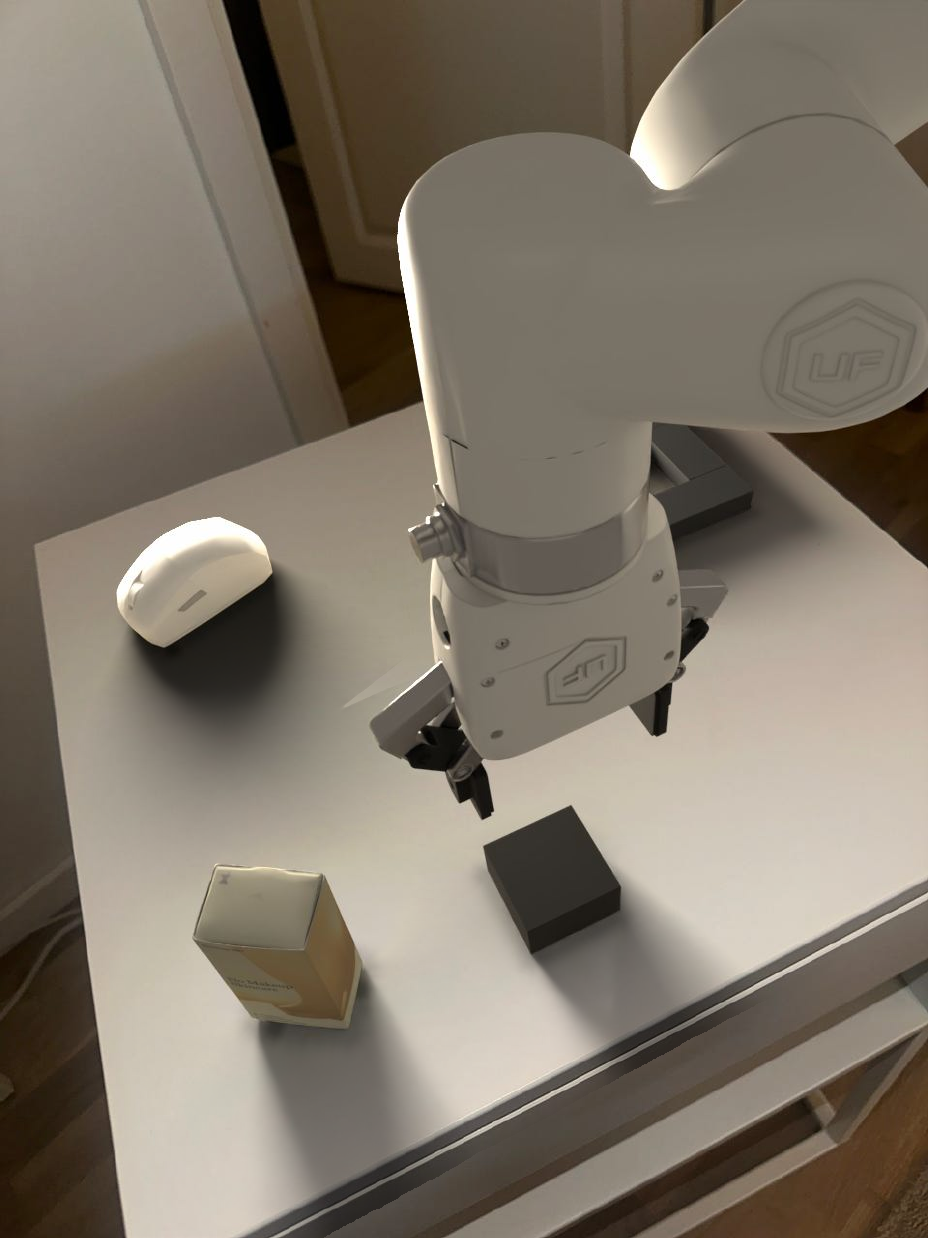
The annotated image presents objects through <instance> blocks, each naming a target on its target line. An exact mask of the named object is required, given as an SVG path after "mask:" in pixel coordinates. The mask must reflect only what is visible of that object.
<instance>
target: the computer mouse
mask: <svg viewBox="0 0 928 1238" xmlns="http://www.w3.org/2000/svg"><path fill="white" fill-rule="evenodd" d="M272 574H273V568H272V564H271V561H270V558H269V553H268V551H267V547H266V545H265V543H264V542H263V541H262V539H261V538H260V537H259V536H258V535H257V534H256V533H254V532H253V531H252V530H249V529H247V528H245V527H243V526H241V525H238V524H236V523H233V522H232V521H229V520H226V519H224V518H222V517H211V518H207V519H201V520H196V521H195V520H194V521H190V522H189V521H188V522H187V523H185V524H183V525H181V526H179V527H176V528H175V529H172V530H170V531H169V532H168V531H167V532H166V533H165V534H163V535H162V536H160V537H159V538H157V539H156V540H155V541H153V543H152V544H150V545H149V546H148V547H147V548H146V549H145V550H144V551H143V552H142V553H141V554H140V555H139V556H138V558H137V559H136V560H135V562H134V563H133V564H132V565H131V567H130V568H129V569H128V571H127V572H126V574H125V575H124V577H123V579H122V580H121V582H120V583H119V585H118V588H117V590H116V598H117V608H118V611H119V613H120V614H121V616H122V617H123V619H124V621H125V622H126V623H127V624H128V625H129V627H130V628H132V629H133V630H134V632H136V633H137V634H138V635H140V636H141V637H142V639H144V640H146V641H147V642H149V643H150V644H152V645H155V646H158V647H161V648H166V647H168V646H170V645H172V644H174V643H175V642H176V641H178V640H180V639H182V638H183V637H185V636H186V635H187V634H189V633H191V632H192V631H194V630H195V629H197V628H198V627H200V626H202V625H203V624H205V623H206V622H207V621H210V619H212V618H214V617H215V616H217V615H218V614H219V613H221V612H223V611H224V610H226V609H227V608H229V607H230V606H231V605H233V604H234V603H236V602H237V601H239V600H240V599H242V598H243V597H245V596H246V595H248V594H249V593H251V592H252V591H253V590H255V589H256V588H258V587H259V586H261V585H262V584H264V583H265V582H266V581H267V579H268V578H269V577H271V575H272Z"/></svg>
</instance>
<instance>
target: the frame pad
mask: <svg viewBox="0 0 928 1238" xmlns="http://www.w3.org/2000/svg"><path fill="white" fill-rule="evenodd" d="M650 461H652V462H653V463H654V464H655V465H656V466H657V467H658V468H659V469H660V470H661V472H663V474H665V476H666V477H667V478H668V479H669V480H670V481H671V482H672V483H673V484H674V485H675V486H673V487H670V488H668V489H665V490H663V491H660V492H658V493H655V494H652V495H653V496H654V497H655V498H656V499H657V500H658V501H659V502H660V503H661V505H662V506H663V508H664V510H665V513H666V516H667V520H668V523H669V527H670V532H671V536H672V541H676V540H678V539H681V538H683V537H685V536H688V535H690V534H693V533H695V532H698V531H700V530H702V529H704V528H707V527H709V526H712V525H715V524H717V523H719V522H721V521H724V520H727V519H729V518H731V517H733V516H736V515H738V514H740V513H743V512H745V511H748V510H751V508H752V504H753V498H754V493H755V492H754V489H753V488H752V487H751V486H749V484H747V483H746V481H744V480H743V478H741V476H739V474H737V473H736V472H735V471H734V469H732V468H731V467H730V466H729V465H728V464H727V463H726V462H725V461H724V460H723V459H722V458H721V457H720V456H719V455H718V454H717V453H716V452H715V451H714V450H713V449H712V448H711V447H710V446H709V445H707V443H706V442H705V441H704V440H702V438H701V437H699V436H698V435H697V434H696V432H695V431H693V430H692V429H691V428H690V427H689V425H680V424H670V423H659V422H652V438H651V459H650Z"/></svg>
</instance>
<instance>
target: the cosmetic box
mask: <svg viewBox="0 0 928 1238" xmlns="http://www.w3.org/2000/svg"><path fill="white" fill-rule="evenodd" d="M191 938H192V940H193V942H194V943H195V944H196V945H197V946H198V948H199V950H200V951H201V952H202V953H203V954H204V956H205V957H206V958H207V960H208V961H209V963H210V964H211V965H212V966H213V968H214V970H216V972H217V974H218V975H219V976H220V977H221V978H222V980H223V981H224V983H225V984H226V985H227V987H228V988H229V989H230V990H231V991H232V993H233V994H234V996H235V997H236V998H237V1000H238V1002H240V1004H241V1005H242V1007H243V1008H244V1009H245V1010H246V1012H247V1013H248V1015H249V1016H250V1017H251V1018H252V1019H256V1020H262V1021H266V1022H267V1021H268V1022H274V1023H281V1024H287V1025H296V1026H307V1027H317V1028H328V1029H341V1030H347V1029H348V1028H349V1027H350V1022H351V1019H352V1018H351V1017H352V1014H353V1009H354V1005H355V1002H356V997H357V993H358V988H359V984H360V978H361V973H362V968H363V960H362V957H361V955H360V952H359V951H358V948H357V946H356V944H355V941H354V940H353V937H352V935H351V932H350V930H349V927H348V926H347V923H346V920H345V919H344V917H343V914H342V912H341V909H340V907H339V905H338V903H337V900H336V897H335V896H334V894H333V892H332V888H331V887H330V884H329V882H328V879H327V877H326V875H325V874H324V873H323V872H316V871H307V870H298V869H297V870H295V869H286V868H285V869H284V868H275V867H266V866H265V867H264V866H251V865H249V866H248V865H237V864H224V863H216V864H214V867H213V870H212V872H211V876H210V879H209V880H208V885H207V887H206V890H205V893H204V896H203V899H202V902H201V905H200V909H199V911H198V914H197V918H196V921H195V926H194V929H193V932H192V937H191Z"/></svg>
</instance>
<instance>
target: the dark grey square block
mask: <svg viewBox="0 0 928 1238" xmlns="http://www.w3.org/2000/svg"><path fill="white" fill-rule="evenodd" d="M482 849H483V853H484V857H485V863H486V867H487V872H488V874H489V875H490V877H491V880H492V881H493V883H494V885H495V887H496V889H497V892H498V893H499V895H500V897H501V899H502V901H503V903H504V905H505V907H506V909H507V911H508V913H509V914H510V917H511V919H512V920H513V922H514V925H515V927H516V928H517V931H518V932H519V935H520V936H521V938H522V940H523V943H524V944H525V946H526V948H527V950H528V952H529V954H530V955H533V954H536V953H537V952H540V951H541V950H543V949H545V948H547V947H550V946H552V945H554V944H556V943H558V942H560V941H562V940H564V939H565V938H567V937H570V936H572V935H574V934H576V933H578V932H580V931H582V930H583V929H586V928H588V927H590V926H592V925H595V924H596V923H598V922H600V921H602V920H604V919H606V918H609V917H610V916H613V915H614V914H616V913H619V912H620V911H621V903H622V901H621V898H622V896H621V895H622V894H621V893H622V885H621V884H620V883H619V881H618V879H617V877H616V876H615V874H614V873H613V871H612V870H611V868H610V866H609V864H608V863H607V860H606V859H605V858H604V856H603V855H602V853H601V851H600V849H599V848H598V846H597V844H596V842H595V841H594V840H593V838H592V837H591V835H590V833H589V832H588V830H587V828H586V827H585V824H584V823H583V822H582V820H581V818H580V817H579V815H578V813H577V812H576V810H575V808H574V807H573V805H572V804H570V805H567V806H565V807H563V808H561V809H559V810H557V811H555V812H553V813H550V814H548V815H546V816H545V817H542V818H539V819H538V820H536V821H533V822H531V823H529V824H527V825H525V826H523V827H521V828H518V829H516V830H514V831H512V832H509V833H508V834H505V835H503V836H501V837H499V838H497V839H495V840H493V841H491V842H489V843H487V844H484V845H482Z"/></svg>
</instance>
